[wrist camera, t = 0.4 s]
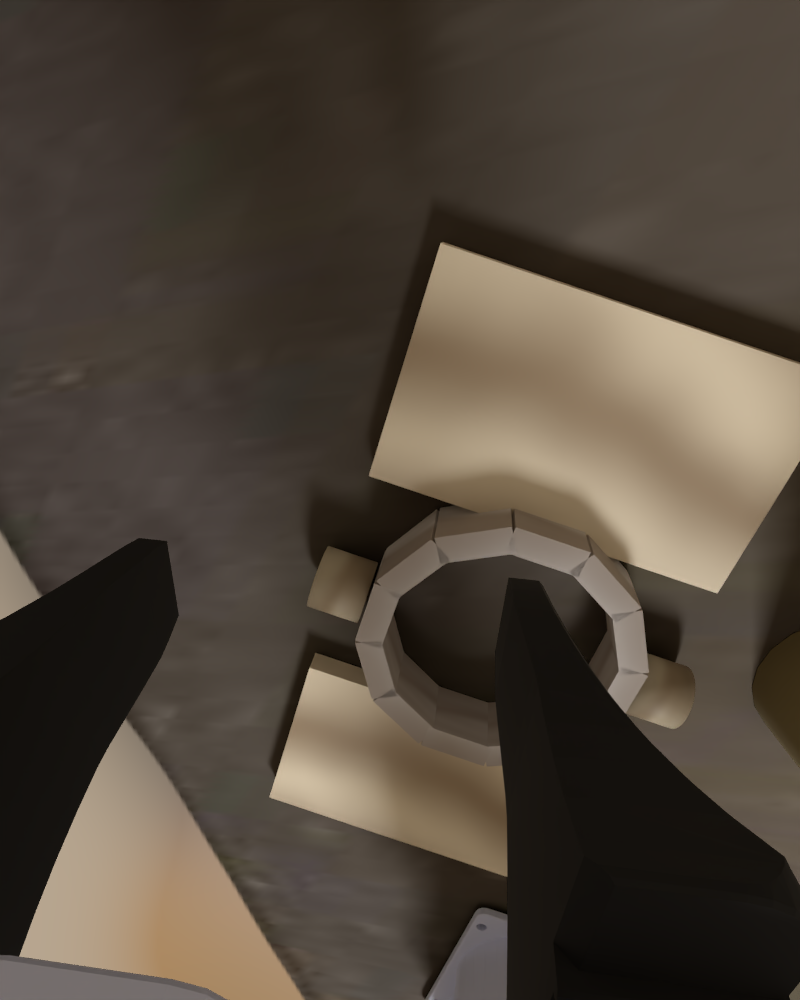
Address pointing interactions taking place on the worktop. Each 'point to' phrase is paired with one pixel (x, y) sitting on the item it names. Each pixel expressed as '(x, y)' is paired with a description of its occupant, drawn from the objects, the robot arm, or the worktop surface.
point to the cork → (781, 693)
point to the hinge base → (532, 526)
